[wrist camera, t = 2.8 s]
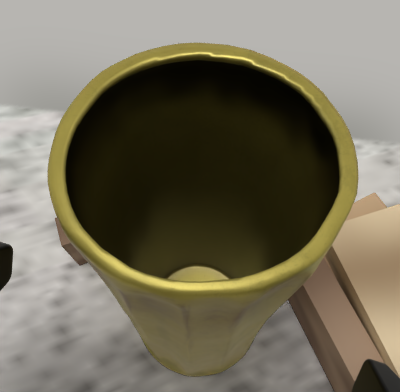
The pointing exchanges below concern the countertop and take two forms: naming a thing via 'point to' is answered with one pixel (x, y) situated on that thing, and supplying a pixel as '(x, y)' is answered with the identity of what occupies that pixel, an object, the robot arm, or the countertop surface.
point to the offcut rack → (348, 294)
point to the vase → (202, 193)
